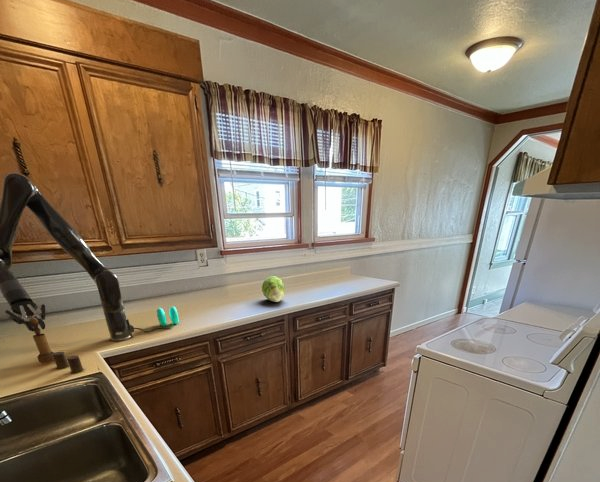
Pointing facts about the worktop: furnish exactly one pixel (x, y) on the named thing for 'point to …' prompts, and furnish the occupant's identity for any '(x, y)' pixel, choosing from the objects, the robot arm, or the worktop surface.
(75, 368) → the far peg
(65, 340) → the worktop surface
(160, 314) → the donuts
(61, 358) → the middle peg
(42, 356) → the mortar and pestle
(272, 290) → the lettuce
